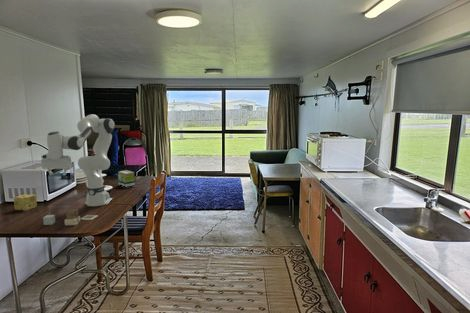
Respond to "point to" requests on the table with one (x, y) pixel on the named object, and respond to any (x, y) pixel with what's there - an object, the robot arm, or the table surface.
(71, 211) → the walnut cube
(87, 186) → the candlestick
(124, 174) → the tea box
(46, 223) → the grey cube
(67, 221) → the oak base block
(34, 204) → the cheese
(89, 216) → the swatch
